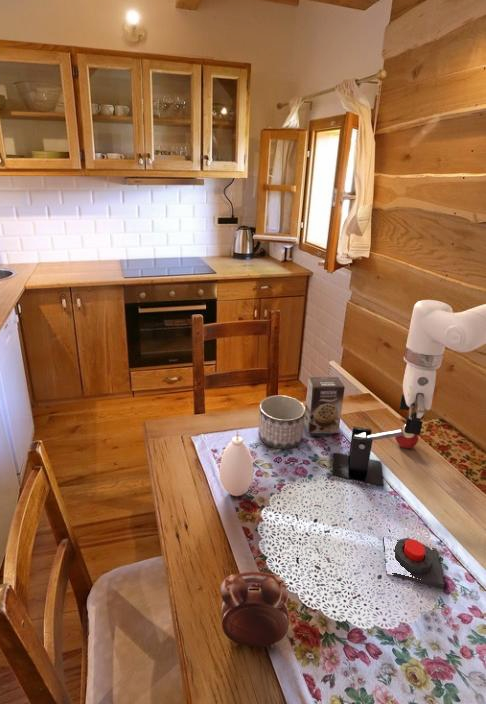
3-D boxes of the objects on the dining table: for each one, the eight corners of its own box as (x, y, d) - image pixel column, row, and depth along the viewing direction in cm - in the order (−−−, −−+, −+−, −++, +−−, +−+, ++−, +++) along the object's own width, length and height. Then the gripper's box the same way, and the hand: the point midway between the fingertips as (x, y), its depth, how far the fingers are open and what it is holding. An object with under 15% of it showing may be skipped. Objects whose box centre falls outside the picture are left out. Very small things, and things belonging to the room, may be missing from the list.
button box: (435, 552, 83) (438, 541, 82) (443, 589, 75) (446, 578, 74) (382, 540, 85) (385, 529, 84) (386, 574, 78) (388, 563, 77)
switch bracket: (380, 464, 107) (386, 427, 103) (382, 489, 99) (390, 449, 95) (333, 456, 110) (337, 419, 106) (331, 478, 102) (336, 439, 98)
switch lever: (416, 431, 98) (412, 420, 97) (418, 439, 95) (414, 428, 94) (357, 441, 103) (353, 431, 103) (358, 449, 100) (353, 439, 100)
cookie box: (308, 435, 118) (313, 387, 113) (303, 422, 124) (307, 376, 119) (339, 435, 119) (345, 387, 113) (332, 422, 125) (338, 375, 119)
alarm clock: (283, 623, 70) (289, 560, 64) (287, 654, 65) (293, 589, 60) (220, 620, 70) (221, 557, 65) (219, 651, 66) (220, 586, 60)
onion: (420, 451, 112) (425, 427, 109) (404, 456, 110) (409, 432, 107) (404, 439, 117) (409, 415, 114) (388, 443, 115) (393, 420, 112)
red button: (422, 548, 81) (423, 541, 80) (425, 564, 77) (426, 557, 77) (402, 543, 82) (404, 537, 81) (404, 559, 78) (406, 552, 78)
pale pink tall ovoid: (258, 489, 99) (261, 426, 92) (241, 510, 93) (243, 444, 86) (231, 476, 103) (232, 415, 96) (213, 495, 97) (213, 432, 90)
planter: (292, 458, 109) (295, 425, 106) (250, 442, 115) (251, 411, 112) (308, 433, 119) (311, 403, 116) (269, 420, 126) (271, 391, 122)
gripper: (450, 376, 81) (433, 446, 87) (434, 342, 97) (420, 404, 103) (409, 371, 83) (395, 440, 89) (400, 338, 98) (388, 399, 105)
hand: (408, 420), depth 96 cm, fingers open, 9 cm apart
